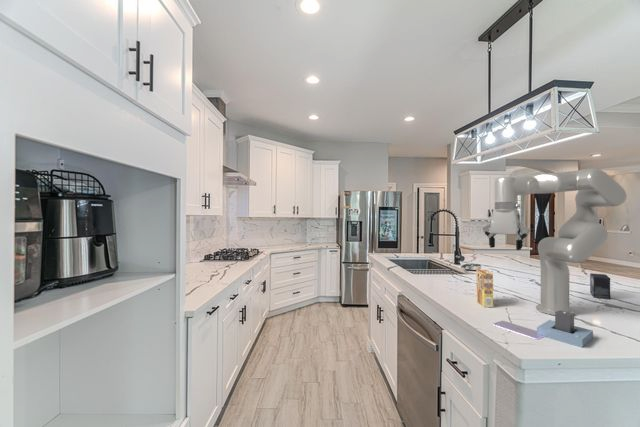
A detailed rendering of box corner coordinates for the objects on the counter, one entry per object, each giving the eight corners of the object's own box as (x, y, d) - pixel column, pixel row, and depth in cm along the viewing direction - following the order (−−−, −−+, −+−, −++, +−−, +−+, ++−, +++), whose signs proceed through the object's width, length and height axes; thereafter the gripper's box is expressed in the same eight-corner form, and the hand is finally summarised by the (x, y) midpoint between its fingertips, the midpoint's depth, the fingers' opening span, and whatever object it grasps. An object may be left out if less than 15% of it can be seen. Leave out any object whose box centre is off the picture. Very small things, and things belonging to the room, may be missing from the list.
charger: (559, 332, 102) (559, 309, 102) (574, 336, 99) (574, 312, 99) (555, 335, 100) (555, 311, 100) (569, 339, 97) (570, 315, 97)
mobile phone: (536, 338, 96) (491, 323, 109) (536, 341, 96) (491, 325, 109) (547, 333, 100) (502, 319, 113) (547, 336, 100) (502, 322, 113)
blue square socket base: (549, 326, 108) (549, 319, 108) (592, 337, 98) (593, 329, 98) (536, 334, 101) (536, 326, 101) (582, 347, 91) (582, 338, 91)
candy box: (493, 307, 129) (493, 273, 129) (483, 307, 129) (483, 272, 129) (485, 301, 138) (485, 269, 137) (475, 301, 138) (476, 269, 138)
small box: (589, 292, 153) (589, 272, 153) (606, 294, 149) (606, 274, 149) (592, 297, 144) (592, 276, 144) (611, 299, 140) (611, 278, 140)
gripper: (533, 206, 115) (533, 249, 115) (486, 207, 129) (486, 245, 129) (526, 206, 111) (526, 251, 111) (479, 207, 124) (479, 247, 124)
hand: (505, 248), depth 120 cm, fingers open, 9 cm apart
